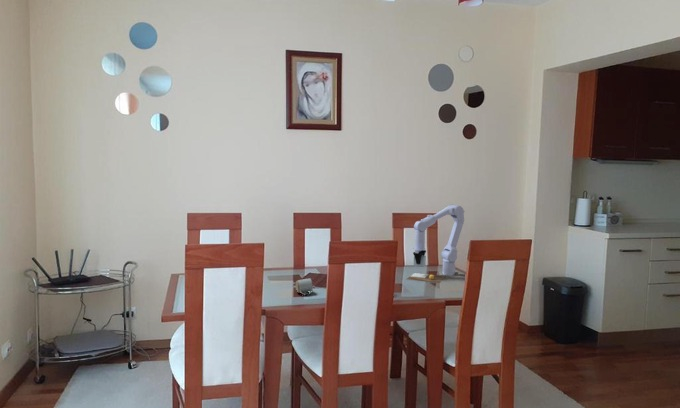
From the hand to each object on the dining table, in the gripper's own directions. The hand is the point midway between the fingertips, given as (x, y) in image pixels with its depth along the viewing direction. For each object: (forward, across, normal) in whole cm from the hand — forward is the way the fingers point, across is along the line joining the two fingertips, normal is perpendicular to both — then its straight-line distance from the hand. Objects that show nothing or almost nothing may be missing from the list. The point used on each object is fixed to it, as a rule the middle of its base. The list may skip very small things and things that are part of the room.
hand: (419, 263), depth 287 cm
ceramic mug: (+9, +61, -46) cm, 77 cm away
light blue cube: (+2, 0, 0) cm, 2 cm away
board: (+9, +3, +5) cm, 11 cm away
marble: (+6, +6, +9) cm, 13 cm away
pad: (+8, 0, 0) cm, 8 cm away
